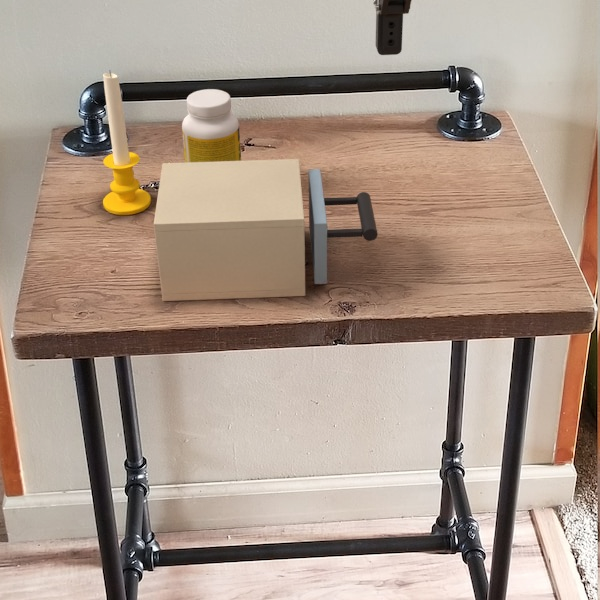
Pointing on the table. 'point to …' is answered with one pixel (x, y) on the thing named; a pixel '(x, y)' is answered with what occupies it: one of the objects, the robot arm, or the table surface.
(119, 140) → the candle
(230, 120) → the pill bottle
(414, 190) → the table surface
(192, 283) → the drawer cabinet
